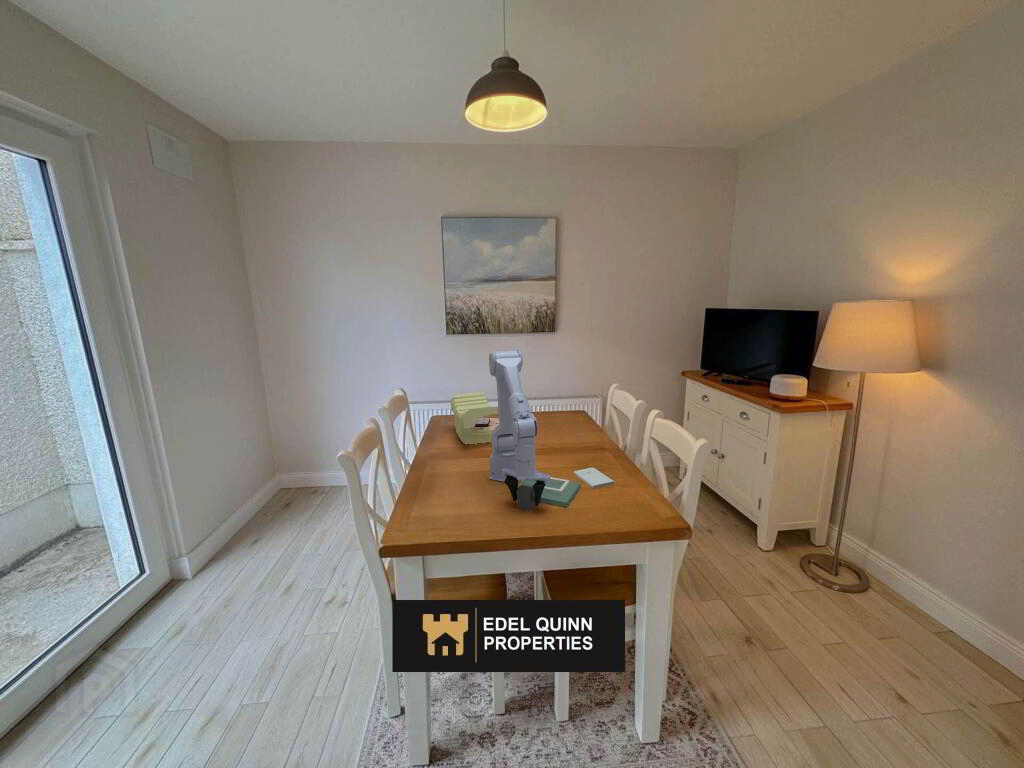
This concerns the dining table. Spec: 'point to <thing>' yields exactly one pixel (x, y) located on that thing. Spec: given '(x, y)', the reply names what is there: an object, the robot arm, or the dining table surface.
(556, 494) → the board
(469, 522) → the dining table surface
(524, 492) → the dark grey block
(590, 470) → the external hard drive
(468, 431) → the ridged pale green box
